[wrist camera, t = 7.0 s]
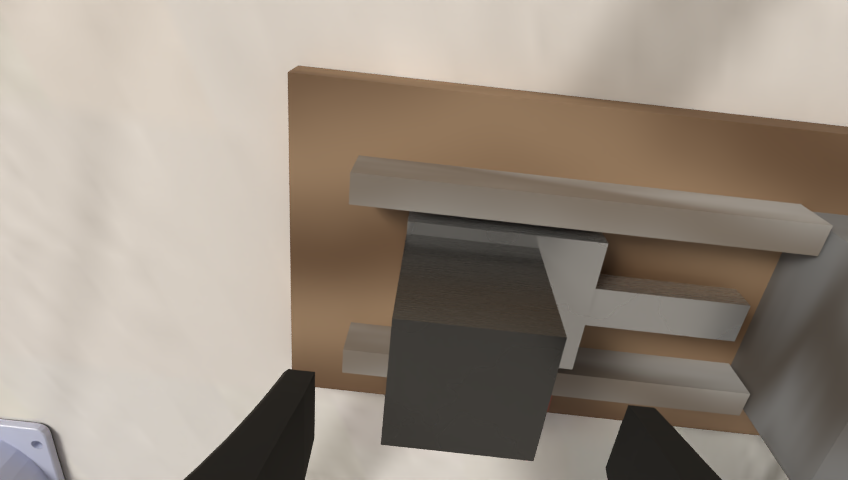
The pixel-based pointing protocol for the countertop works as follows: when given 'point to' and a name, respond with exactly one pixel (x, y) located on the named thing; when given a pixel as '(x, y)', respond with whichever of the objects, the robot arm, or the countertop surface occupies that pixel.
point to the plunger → (513, 327)
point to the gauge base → (592, 211)
